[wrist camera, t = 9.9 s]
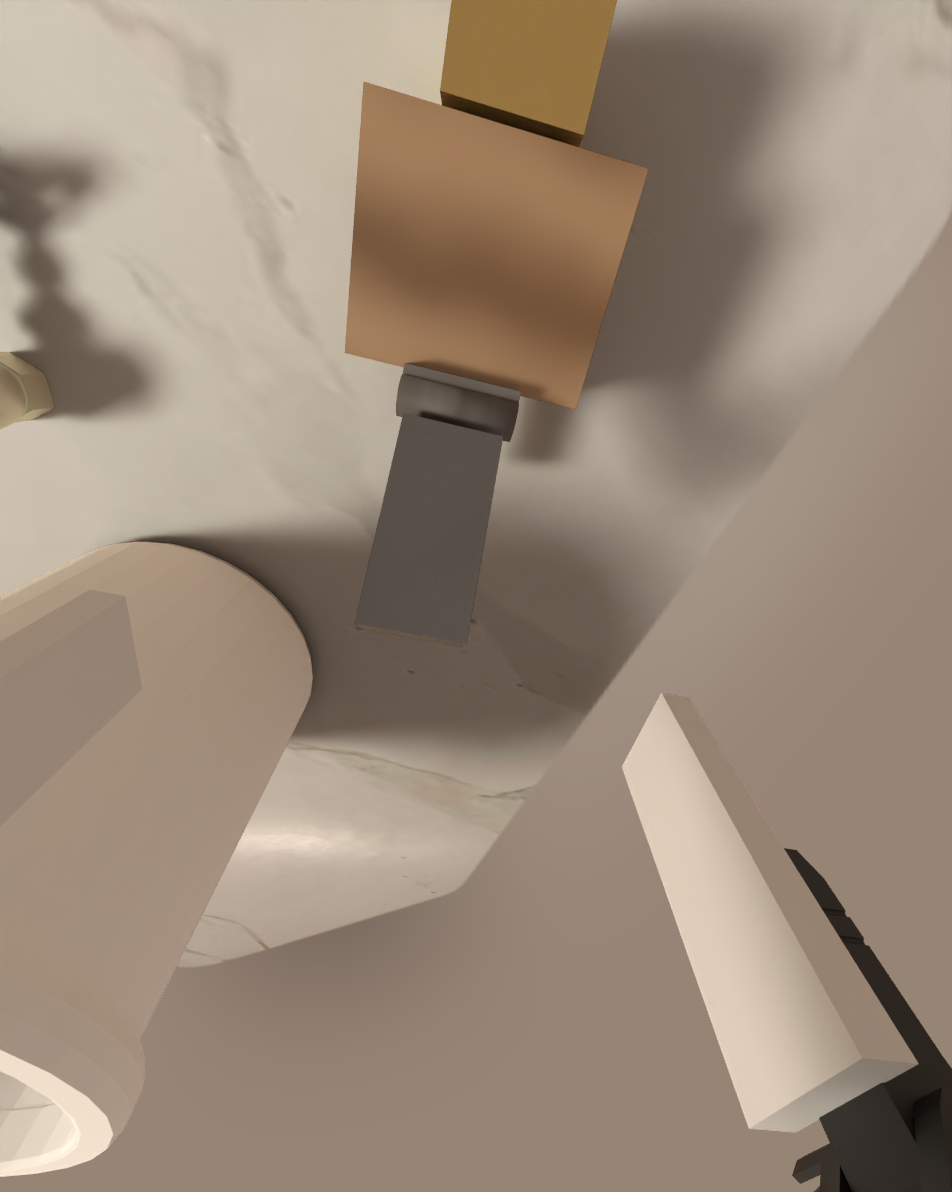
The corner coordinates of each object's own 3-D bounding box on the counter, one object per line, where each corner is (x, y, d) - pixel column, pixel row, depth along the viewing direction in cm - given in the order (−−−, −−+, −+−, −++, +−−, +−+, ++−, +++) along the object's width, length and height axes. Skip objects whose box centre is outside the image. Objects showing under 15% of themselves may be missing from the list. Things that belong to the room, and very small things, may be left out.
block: (404, 179, 22) (349, 47, 13) (591, 233, 23) (668, 147, 14) (382, 387, 27) (329, 402, 17) (538, 424, 28) (570, 459, 18)
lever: (404, 432, 18) (403, 413, 17) (496, 453, 19) (503, 436, 18) (359, 628, 17) (354, 623, 15) (462, 647, 17) (466, 644, 16)
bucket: (350, 758, 42) (211, 1192, 20) (121, 760, 43) (-260, 1189, 21) (294, 497, 30) (-199, 871, 8) (-25, 502, 31) (-1332, 874, 8)
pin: (474, 38, 20) (472, -160, 12) (580, 72, 20) (640, -98, 13) (412, 457, 29) (388, 493, 21) (487, 474, 29) (490, 515, 21)
